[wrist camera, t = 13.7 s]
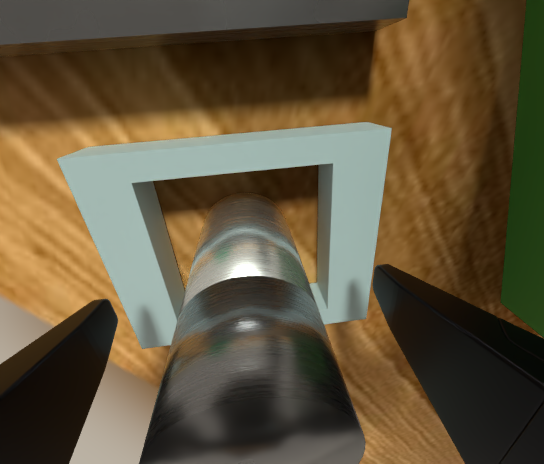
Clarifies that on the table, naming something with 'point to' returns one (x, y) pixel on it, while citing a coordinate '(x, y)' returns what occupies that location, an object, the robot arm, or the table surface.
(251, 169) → the square frame
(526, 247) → the hardback book
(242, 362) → the chrome metal cylinder
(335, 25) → the socket block
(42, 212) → the table surface
